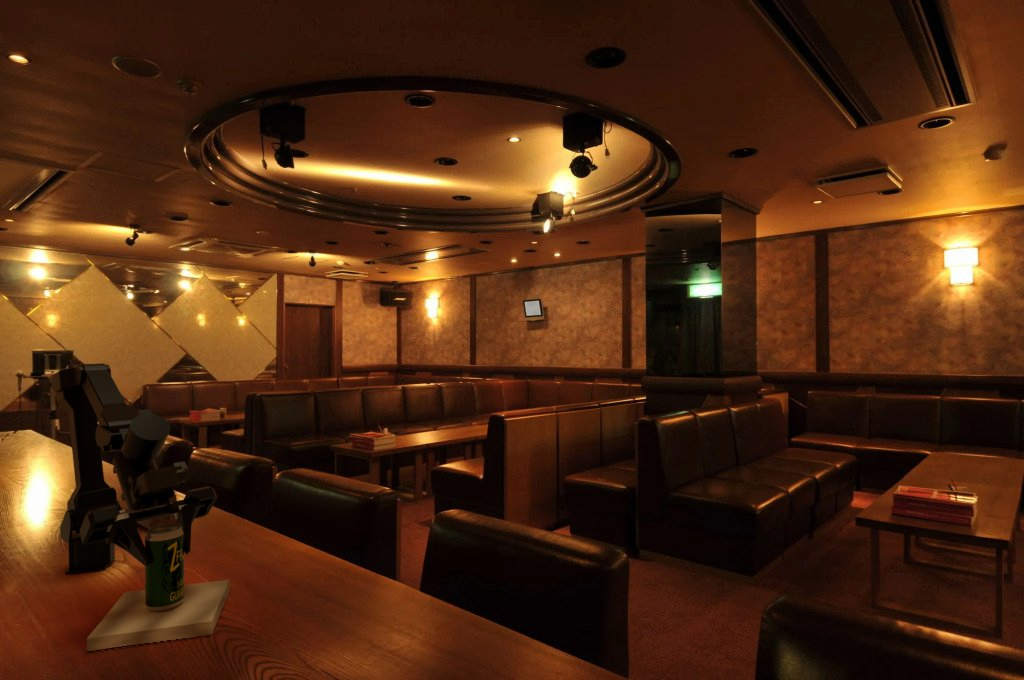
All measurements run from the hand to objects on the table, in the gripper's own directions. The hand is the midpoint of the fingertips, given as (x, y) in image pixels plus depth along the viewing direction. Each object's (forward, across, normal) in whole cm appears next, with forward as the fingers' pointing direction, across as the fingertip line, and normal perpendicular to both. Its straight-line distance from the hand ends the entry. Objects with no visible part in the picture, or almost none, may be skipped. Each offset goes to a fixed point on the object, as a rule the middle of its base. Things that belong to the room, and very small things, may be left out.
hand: (168, 558), depth 93 cm
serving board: (+6, 0, +8) cm, 10 cm away
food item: (-32, +19, +47) cm, 60 cm away
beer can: (+5, 0, +6) cm, 8 cm away
